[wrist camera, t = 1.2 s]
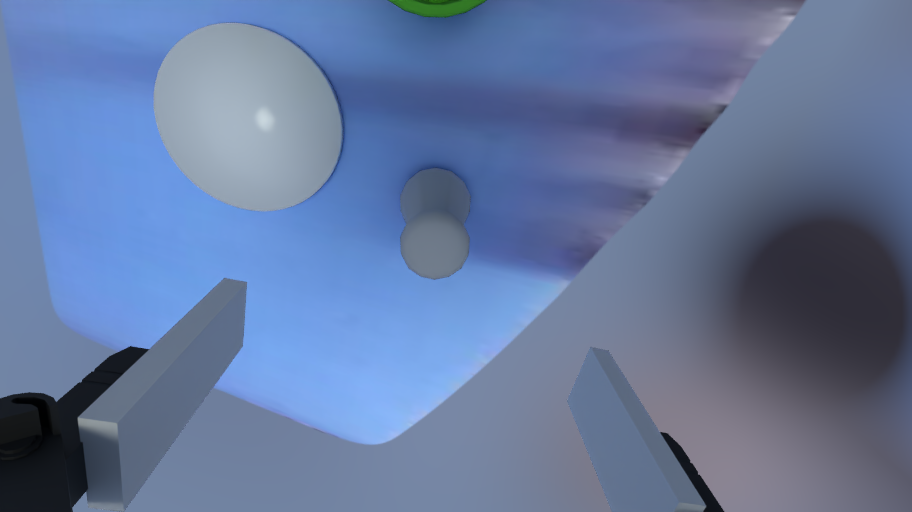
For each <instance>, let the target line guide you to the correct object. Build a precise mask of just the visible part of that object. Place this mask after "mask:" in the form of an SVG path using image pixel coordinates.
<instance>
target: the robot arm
mask: <svg viewBox="0 0 912 512" xmlns="http://www.w3.org/2000/svg"><path fill="white" fill-rule="evenodd" d="M246 289H247V282H243V281H238V280H233V279H227V278H224V279H223V280H222V281H221V282H220V283H219V284H218V285H217V286H215V287H214V288H213V289H212V290H211V291H210V292H209V293H208V294H207V295H206V296H205V297H204V298H203V299H202V300H201V301H200V302H199V303H198V304H197V305H195V306H194V307H193V308H192V309H191V310H190V311H189V312H188V313H187V314H186V315H185V316H184V317H183V318H182V319H181V320H180V321H179V322H178V323H177V324H176V325H174V326H173V327H172V328H171V329H170V330H169V331H168V332H167V333H166V334H165V335H164V336H163V337H162V338H161V339H160V340H159V341H158V342H157V343H156V344H154V345H153V346H152V347H151V348H150V349H144V348H138V347H132V346H130V347H128V348H126V349H124V350H122V351H120V352H118V353H115V354H113V355H111V356H109V357H108V358H107V359H106V360H105V361H104V362H102V363H101V364H100V365H99V366H98V367H97V368H95V370H94V372H91V373H90V374H88V375H87V376H86V377H85V378H84V379H83V380H82V382H81V383H78V384H77V385H76V386H74V388H72V389H71V390H70V391H69V392H67V393H66V394H65V395H64V396H63V397H62V398H60V399H59V400H58V401H57V402H56V401H55V400H54V398H53V397H51V396H48V395H46V394H43V393H30V392H29V393H22V394H14V395H10V396H7V397H4V398H0V512H73V511H72V507H73V506H74V505H75V504H76V503H77V501H78V500H79V499H80V498H81V496H82V495H83V494H84V493H85V492H87V500H88V507H89V508H95V509H104V510H113V511H121V512H124V511H125V510H126V508H127V507H128V505H129V504H130V503H131V501H132V500H133V498H134V497H135V496H136V494H137V493H138V491H139V490H140V489H141V487H142V486H143V484H144V483H145V481H146V480H147V479H148V477H149V476H150V475H151V473H152V472H153V470H154V469H155V468H156V466H157V465H158V463H159V462H160V461H161V459H162V458H163V457H164V455H165V454H166V452H167V451H168V449H169V448H170V447H171V445H172V444H173V443H174V441H175V440H176V438H177V437H178V436H179V434H180V433H181V431H182V430H183V429H184V427H185V426H186V424H187V423H188V422H189V420H190V419H191V418H192V416H193V415H194V413H195V412H196V410H197V409H198V408H199V406H200V405H201V403H202V402H203V401H204V399H205V398H206V397H207V395H208V394H209V392H210V391H211V390H212V388H213V387H214V385H215V384H216V383H217V381H218V380H219V378H220V377H221V376H222V374H223V373H224V372H225V370H226V369H227V367H228V366H229V365H230V363H231V362H232V360H233V359H234V358H235V356H236V355H237V353H238V352H239V351H240V349H241V348H242V346H243V335H244V320H245V305H246ZM567 402H568V404H569V407H570V409H571V412H572V414H573V417H574V419H575V422H576V424H577V426H578V429H579V432H580V434H581V436H582V439H583V441H584V444H585V446H586V449H587V451H588V454H589V456H590V459H591V461H592V464H593V466H594V469H595V471H596V474H597V476H598V478H599V481H600V483H601V486H602V488H603V491H604V493H605V496H606V498H607V501H608V503H609V506H610V508H611V511H612V512H724V511H723V509H722V508H721V506H720V505H719V503H718V502H717V500H716V499H715V497H714V496H713V494H712V493H711V491H710V490H709V488H708V486H707V485H706V484H705V482H704V480H703V479H702V478H701V476H700V475H698V471H697V470H696V468H695V467H694V465H693V464H692V463H690V459H689V458H688V456H687V455H686V453H685V452H684V450H683V449H682V447H681V446H680V445H679V444H678V443H677V442H676V441H675V440H673V438H672V437H671V436H669V435H668V434H667V433H662V432H659V430H658V428H657V427H656V425H655V424H654V422H653V421H652V419H651V417H650V416H649V414H648V413H647V411H646V410H645V408H644V406H643V405H642V403H641V402H640V400H639V398H638V397H637V395H636V394H635V392H634V390H633V389H632V387H631V386H630V384H629V383H628V381H627V379H626V378H625V376H624V375H623V373H622V372H621V370H620V368H619V367H618V365H617V364H616V362H615V360H614V359H613V357H612V356H611V354H610V352H609V351H608V350H603V349H598V348H592V347H590V349H589V352H588V354H587V356H586V359H585V361H584V363H583V365H582V368H581V370H580V373H579V375H578V377H577V379H576V382H575V384H574V386H573V388H572V391H571V393H570V395H569V398H568V400H567Z"/></svg>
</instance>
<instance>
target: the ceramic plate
mask: <svg viewBox="0 0 912 512" xmlns="http://www.w3.org/2000/svg"><path fill="white" fill-rule="evenodd" d="M154 112H155V119H156V123H157V127H158V130H159V133H160V136H161V138H162V141H163V143H164V145H165V147H166V149H167V151H168V153H169V155H170V156H171V158H172V159H173V161H174V162H175V163H176V165H177V166H178V167H179V169H180V170H181V171H182V172H183V173H184V174H185V176H186V177H188V178H189V179H190V180H191V181H192V182H193V183H194V184H195V185H196V186H198V187H199V188H200V189H202V190H203V191H204V192H206V193H207V194H209V195H211V196H212V197H214V198H215V199H218V200H220V201H222V202H224V203H226V204H229V205H232V206H235V207H238V208H242V209H247V210H253V211H275V210H281V209H285V208H288V207H292V206H294V205H297V204H299V203H301V202H303V201H304V200H306V199H308V198H309V197H311V196H312V195H313V194H314V193H315V192H317V191H318V190H319V189H320V188H321V187H322V186H323V185H324V184H325V183H326V181H327V180H328V179H329V178H330V176H331V175H332V173H333V171H334V170H335V168H336V165H337V163H338V161H339V158H340V154H341V151H342V145H343V132H344V127H343V118H342V113H341V108H340V104H339V101H338V99H337V96H336V93H335V91H334V89H333V87H332V85H331V83H330V81H329V79H328V78H327V76H326V75H325V73H324V72H323V70H322V69H321V68H320V67H319V65H318V64H317V63H316V62H315V61H314V60H313V59H312V58H311V57H310V56H309V55H308V54H307V53H306V52H305V51H304V50H303V49H301V48H300V47H299V46H297V45H296V44H295V43H293V42H292V41H290V40H288V39H287V38H285V37H283V36H281V35H279V34H277V33H275V32H272V31H270V30H267V29H263V28H260V27H256V26H252V25H248V24H241V23H220V24H213V25H209V26H206V27H203V28H200V29H197V30H195V31H193V32H192V33H190V34H188V35H186V36H185V37H184V38H182V39H181V40H180V41H178V42H177V44H176V45H175V46H174V47H173V48H172V49H171V50H170V51H169V53H168V54H167V56H166V57H165V59H164V60H163V62H162V65H161V67H160V69H159V71H158V75H157V78H156V82H155V89H154Z"/></svg>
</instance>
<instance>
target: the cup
mask: <svg viewBox="0 0 912 512" xmlns="http://www.w3.org/2000/svg"><path fill="white" fill-rule="evenodd" d="M388 1H390V2H392V3H393V4H395V5H396V6H398V7H400V8H401V9H403V10H404V11H407V12H411V13H414V14H417V15H420V16H424V17H444V18H446V17H450V16H454V15H458V14H462V13H466V12H468V11H470V10H471V9H473V8H475V7H477V6H478V5H480V4H482V3H484V2H485V1H486V0H388Z"/></svg>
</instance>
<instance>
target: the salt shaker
mask: <svg viewBox="0 0 912 512" xmlns="http://www.w3.org/2000/svg"><path fill="white" fill-rule="evenodd" d="M470 198H471V196H470V194H469V192H468V190H467V188H466V185H465V183H464V182H463V181H462V180H461V179H460V178H459V177H457V176H456V175H455V174H454V173H453V172H452V171H448V170H443V169H439V168H432V169H426V170H421V171H419V172H418V173H417V174H415V175H414V176H413V177H412V178H410V179H409V180H408V181H407V182H406V184H405V186H404V188H403V191H402V193H401V195H400V203H401V213H402V215H403V217H404V220H405V222H406V226H405V228H404V230H403V232H402V234H401V237H400V242H401V254H402V257H403V259H404V260H405V262H406V264H407V266H408V268H409V269H411V270H412V271H413V272H415V273H416V274H418V275H419V276H421V277H425V278H430V279H434V280H435V279H440V278H445V277H449V276H451V275H452V274H454V273H455V272H456V271H458V270H459V269H461V267H462V266H463V264H464V262H465V260H466V258H467V257H468V253H469V240H470V238H469V235H468V233H467V231H466V229H465V227H464V223H465V221H466V219H467V216H468V214H469V212H470Z"/></svg>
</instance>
